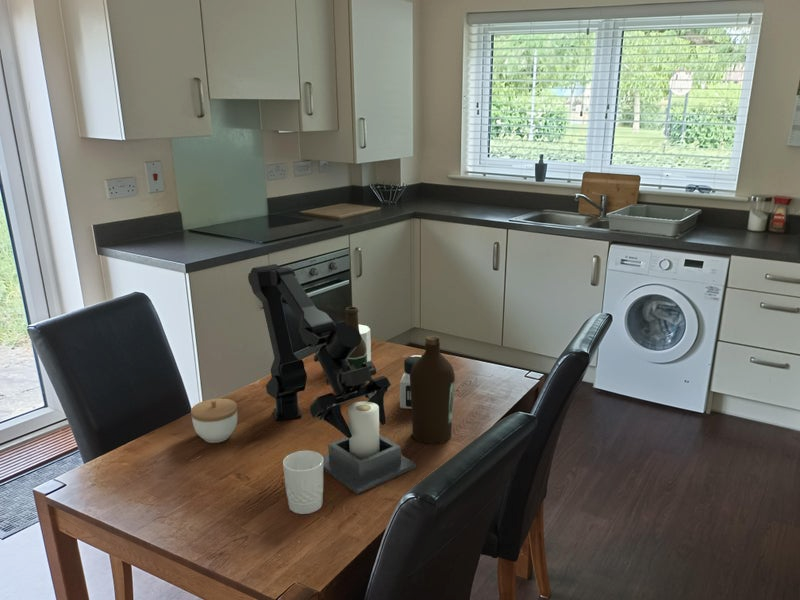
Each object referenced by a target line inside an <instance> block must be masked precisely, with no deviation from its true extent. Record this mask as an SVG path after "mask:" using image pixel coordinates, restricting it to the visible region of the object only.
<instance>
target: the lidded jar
mask: <svg viewBox="0 0 800 600" xmlns="http://www.w3.org/2000/svg"><path fill="white" fill-rule="evenodd" d="M190 415H191V420H192V425H193V429H194V431H195V433H196V435H198V436H199V438H201V439H202V440H204V441H205V443H209V444H212V443H213V444H217V443H221V442H224V441H226V440H228V439H229V438H230V436H231V435H233V433H234V431H235V430H236V428H237V423H238V404H237V403H236V402H235V401H234V400H232V399H229V398H212V399H206V400H203V401H200V402H198V403H196V404H194V405H193V406H192V407H191V410H190Z"/></svg>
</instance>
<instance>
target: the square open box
mask: <svg viewBox="0 0 800 600" xmlns="http://www.w3.org/2000/svg"><path fill="white" fill-rule="evenodd" d="M379 446H380V452H379V453H376V454H374V455H372V456H369V457H367V458H364V459H362V460H359V459H358V458H356V457H355V456H353V455H352V454H350V448H349V438H348V437H346V436H345V437H344V438H341V439H338V440H335V441H333V442H330V443H328V446H327V447H328V454H326V455H322V456H323V472H324V471H325V473H328V475H330V476H331V477H333V478H334V479H335V480H337V481H338V482H340V483H341V484H343V485H344V486H345V487H346V488H348V489H350V490H351V491H352V492H354V493H355V494H356V495H359V494H361V493H363V492H366V491H368V490H370V489H372V488H374V487H377V486H378V485H381V484H382V483H385V482H387V481H390V480H392V479H394V478H396V477H398V476H400V475H403V474H405V473H407V472H410V471H411V470H414V469H416V468H417V463H416V462H414V461H412V460H410V459H409V458H407V457H405V456H404V455H402V446H400V445H399V444H398V443H395V442H393V441H392V440H390V439H389V438H387V437H386V436H383V435H381V434H380V433H379Z"/></svg>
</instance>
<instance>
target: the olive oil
mask: <svg viewBox="0 0 800 600" xmlns="http://www.w3.org/2000/svg"><path fill="white" fill-rule="evenodd" d="M424 346H425V350H424V353H423V354H422V355H420V356H421V357H420V358H419V359H418V360H417V361H416V362H415V363H414V364H413V366H412V369H411V372H410V389H411V407H412V409H411V423H412V424H411V426H412V428H411V429H412V432H411V433H412V436H413V438H414V439H415V440H417V441H419V443H423V444H430V445H431V444H432V445H433V444H435V445H436V444H441V443H445V442H446V441H448V440H449V439H450V438H451V437H452V428H453V427H452V426H453V425H452V424H453V412H454V411H453V409H454V397H455V396H454V395H455V393H454V392H455V385H456V384H455V383H456V377H455V375H456V374H455V371H454V368H453V366H452V364H451V362H450V361H448V359H446V357H444V355H443V354H442V353H441V352H440V347H441V343H440V336H437V335H427V336H426V337H425V343H424Z"/></svg>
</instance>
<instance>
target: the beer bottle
mask: <svg viewBox="0 0 800 600" xmlns="http://www.w3.org/2000/svg"><path fill="white" fill-rule="evenodd" d="M344 313H345V322H346V324H347V325H350V326H352V327H354V328H355V329H357V331H359V324H360V323H359V317H358V316H359V315H358V313H359V309H358V307H356V306H347V307H346V308H345V310H344ZM346 359H347V361H348V363H349V365H352V364H353V365H354V366H355V368H356V369H359V368H362V363H365V362H367V349H366V344H365V342H364V340H363V339H362V337H361V342H360V344H359V345H358V346H357V348H356V349H355V350H354V351H353V352H352V354H351V355H350V356H349V357H348V358H346ZM367 384H368V381H366V382H365V384H364V385H362V386H361V388H362V387H365V386H366V385H367ZM356 394H357V393H356ZM356 394H353V395H356Z"/></svg>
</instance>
